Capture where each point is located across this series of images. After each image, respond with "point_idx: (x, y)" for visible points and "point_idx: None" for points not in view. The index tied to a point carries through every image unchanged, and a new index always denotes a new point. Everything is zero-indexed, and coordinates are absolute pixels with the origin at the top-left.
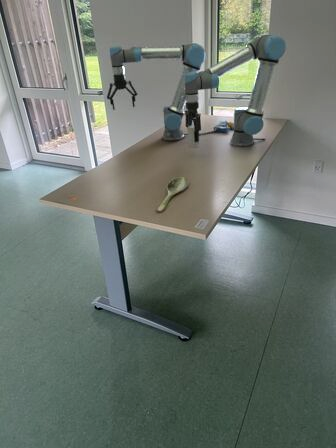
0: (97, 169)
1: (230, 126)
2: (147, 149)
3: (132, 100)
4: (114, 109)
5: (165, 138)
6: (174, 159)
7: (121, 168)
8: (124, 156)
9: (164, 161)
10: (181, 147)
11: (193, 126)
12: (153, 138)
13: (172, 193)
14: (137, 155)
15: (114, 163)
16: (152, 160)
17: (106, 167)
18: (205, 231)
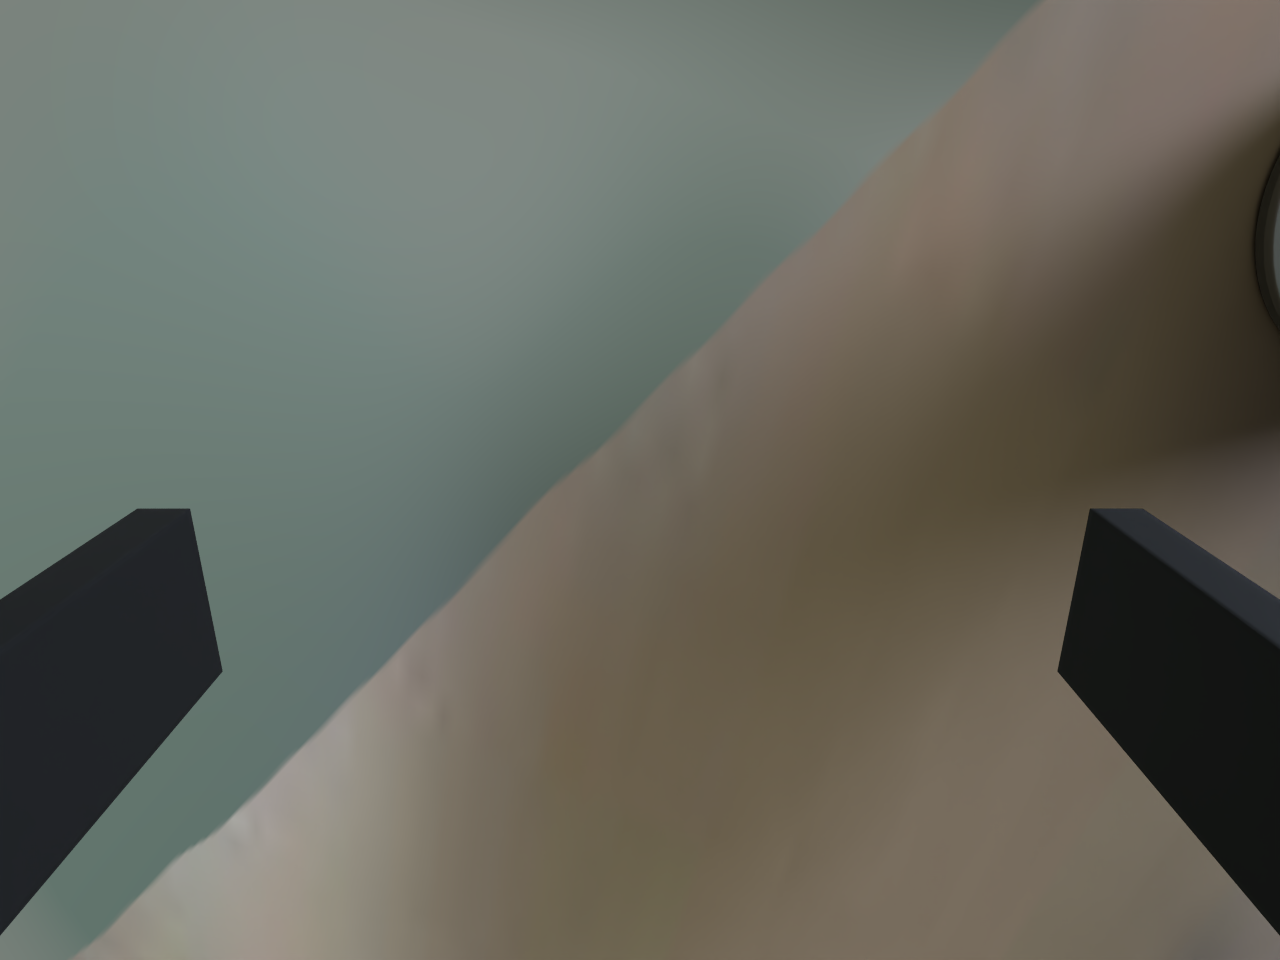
0: (192, 869)
1: None
2: (851, 539)
3: (1267, 786)
4: (204, 680)
5: (1277, 280)
6: (991, 950)
7: (440, 939)
8: (512, 646)
9: (882, 954)
10: None
11: None
12: (1145, 34)
13: None
14: (671, 685)
15: (376, 797)
16: (783, 887)
17: (287, 859)
18: None
